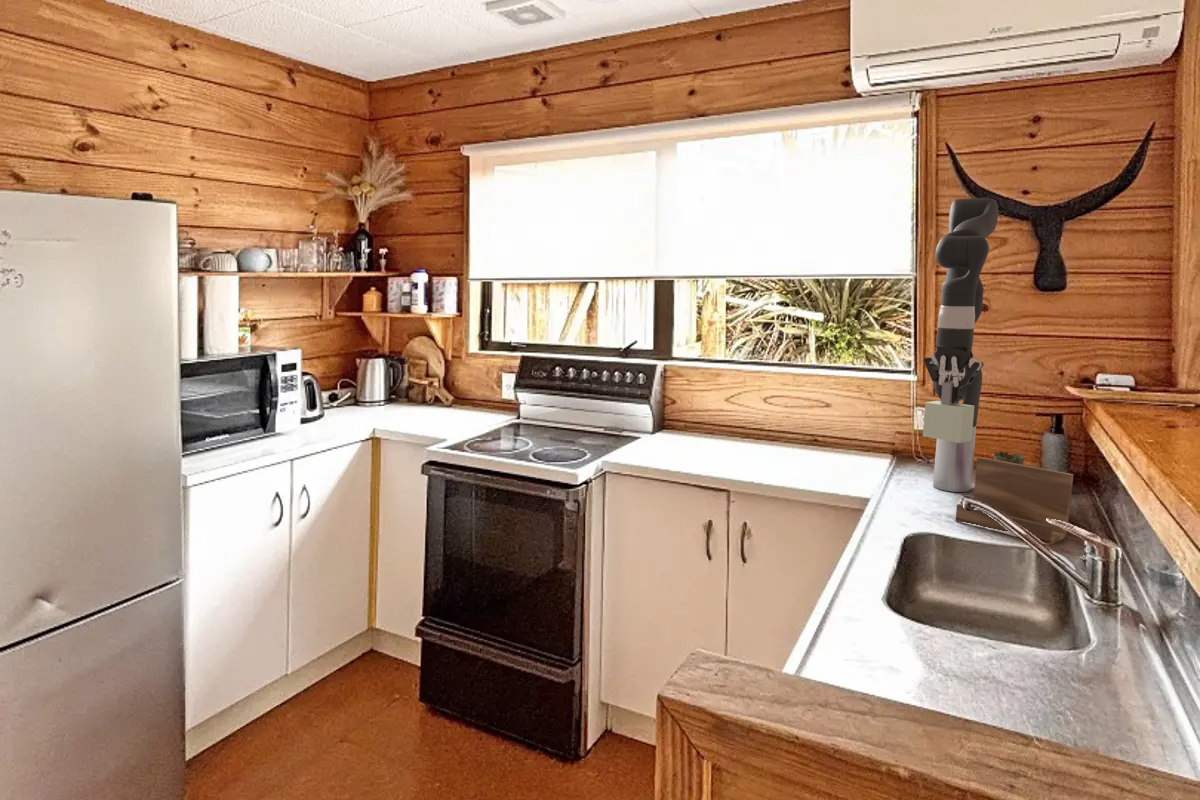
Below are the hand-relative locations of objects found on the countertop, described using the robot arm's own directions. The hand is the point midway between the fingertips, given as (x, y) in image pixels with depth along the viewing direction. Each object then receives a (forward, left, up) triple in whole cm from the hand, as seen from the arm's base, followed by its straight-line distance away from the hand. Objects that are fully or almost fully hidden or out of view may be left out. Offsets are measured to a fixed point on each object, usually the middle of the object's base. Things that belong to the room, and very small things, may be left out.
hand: (949, 401), depth 175 cm
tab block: (0, 0, -9) cm, 9 cm away
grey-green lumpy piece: (-44, -5, -27) cm, 52 cm away
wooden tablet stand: (-3, +14, -27) cm, 31 cm away
